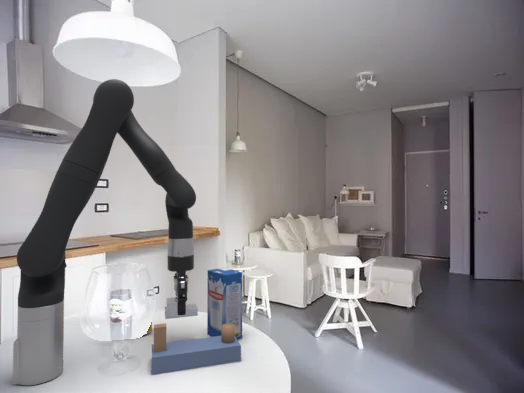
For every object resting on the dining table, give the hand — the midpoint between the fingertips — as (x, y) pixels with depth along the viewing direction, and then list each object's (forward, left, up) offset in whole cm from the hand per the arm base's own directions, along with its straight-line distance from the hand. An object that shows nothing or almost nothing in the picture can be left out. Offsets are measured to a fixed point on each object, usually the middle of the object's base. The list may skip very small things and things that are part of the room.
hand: (180, 311), depth 97 cm
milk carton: (+13, +1, -9) cm, 16 cm away
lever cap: (0, 0, -1) cm, 1 cm away
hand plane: (+3, -12, -9) cm, 15 cm away
